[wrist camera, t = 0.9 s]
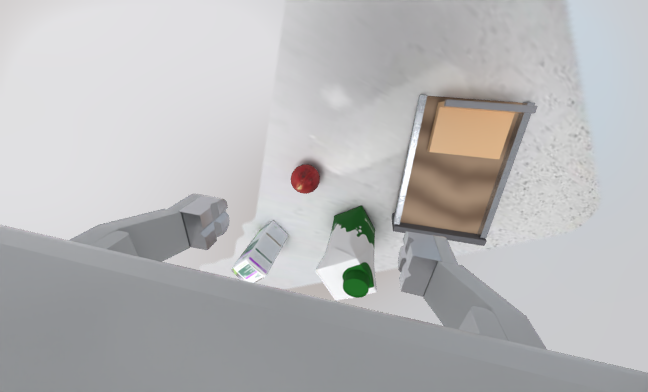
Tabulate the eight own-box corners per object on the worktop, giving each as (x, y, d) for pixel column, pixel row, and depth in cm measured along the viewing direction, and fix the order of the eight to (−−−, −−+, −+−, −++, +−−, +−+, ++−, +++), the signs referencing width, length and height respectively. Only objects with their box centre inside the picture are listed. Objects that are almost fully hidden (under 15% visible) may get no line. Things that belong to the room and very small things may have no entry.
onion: (301, 155, 49) (289, 168, 42) (326, 166, 49) (318, 180, 42) (294, 178, 52) (281, 194, 45) (317, 188, 52) (308, 205, 45)
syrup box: (273, 219, 58) (244, 258, 46) (289, 235, 59) (265, 277, 47) (259, 230, 61) (228, 269, 48) (275, 245, 62) (249, 287, 49)
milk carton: (380, 231, 53) (381, 305, 36) (345, 242, 57) (331, 314, 39) (363, 200, 51) (357, 263, 33) (328, 214, 54) (305, 278, 37)
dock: (419, 93, 40) (425, 95, 35) (527, 101, 38) (551, 105, 32) (391, 215, 52) (393, 231, 47) (472, 228, 49) (484, 245, 44)
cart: (436, 96, 39) (447, 99, 33) (512, 102, 37) (538, 106, 31) (423, 147, 43) (430, 158, 37) (491, 154, 41) (510, 167, 35)
